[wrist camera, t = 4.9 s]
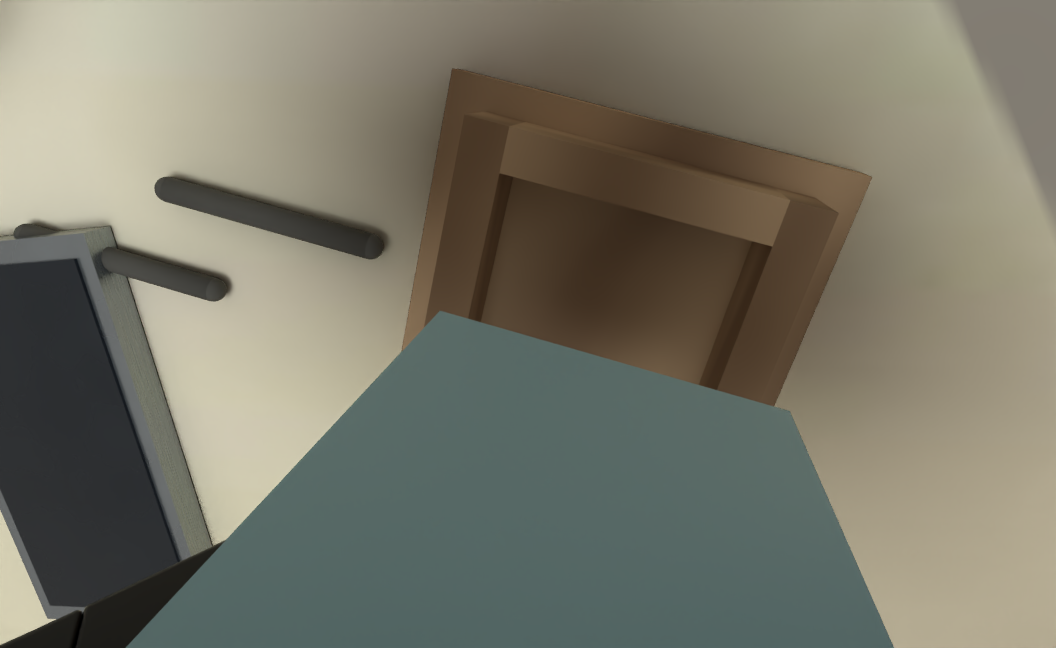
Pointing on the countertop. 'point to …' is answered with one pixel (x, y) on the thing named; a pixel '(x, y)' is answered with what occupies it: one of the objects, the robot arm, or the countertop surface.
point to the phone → (85, 427)
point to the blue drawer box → (534, 518)
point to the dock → (627, 236)
